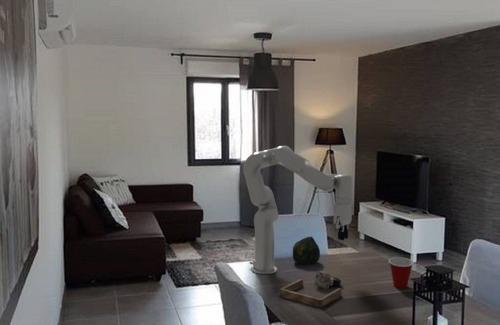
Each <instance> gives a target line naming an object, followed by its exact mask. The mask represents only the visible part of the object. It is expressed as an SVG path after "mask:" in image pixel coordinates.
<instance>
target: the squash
mask: <svg viewBox="0 0 500 325" xmlns="http://www.w3.org/2000/svg"><path fill="white" fill-rule="evenodd" d="M320 251H321V250H320V247H319V245H318V244H317V242H316V240H315V239H314V237H313V236H307V237H304V238H302V239H300V240H298V241H297V242H295V243H294V245H293V247H292V259H293V261H294V262H295V264H299V265H305V264H315V263H316V264H317V263H318V262H319V260H320V257H321V252H320Z"/></svg>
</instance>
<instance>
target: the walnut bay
mask: <svg viewBox="0 0 500 325" xmlns="http://www.w3.org/2000/svg"><path fill="white" fill-rule="evenodd" d="M301 287H304V279H303V278H300V279H297V280H295V281H294V282H291V283H289V284H287V285H284V286H283V287H281V288H279V289H278V296H279V297H282V298H285V299H289V300H293V301H296V302H300V303H303V304H306V305H310V306H313V307H318V308H322V307H324V306H326V305H328V304H329V303H331V302H333V301H335V300H336V299H338V298H339V297H341V296H342V288H340V287H339V288H336V289H335V290H332V291H331V292H329V293H327V294H326V295H324V296H323V297H321V298H319V297H318V298H317V297H315V296H311V295H307V294H303V293H299V292H295V291H296V290H298V289H299V288H301Z"/></svg>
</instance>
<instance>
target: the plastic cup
mask: <svg viewBox="0 0 500 325" xmlns="http://www.w3.org/2000/svg"><path fill="white" fill-rule="evenodd" d="M414 263H415V262H414V261H413V260H412V259H410V258H406V257H402V256H401V257H396V256H395V257H392V258H389V259H388V264H389V265H390V269H391V270H390V271H391V278H392V283H393V287H394V288H396V289H397V288H398V289H406V288H408V284H409V281H410V275H411V271H412V267H413V265H414Z"/></svg>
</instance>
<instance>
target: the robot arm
mask: <svg viewBox="0 0 500 325" xmlns="http://www.w3.org/2000/svg"><path fill="white" fill-rule="evenodd" d="M276 165H281V166H282V167H284V168H286V169H288V170H289V171H291V172H293V173H295V174H296V175H297V176H299V178H301V179H303V180H304V181H306V182H307V183H309V184H310V185H312V186H313V187H316V188H317V189H318V190H320V191H323V192H329V191H331V190H332V189H335V202H334V203H335V205H334V211H333V225H335V228H336V229H337V239H338V240H339V241H345V239H346V240H347V239H348V238H349V226H350V224H351V222H352V220H353V218H352V217H353V216H352V214H353V212H352V204H353V202H352V200H353V197H352V196H353V177H352V176H351V175H350V174H335V173H324V172H322V171H320V170H319V169H317V168H316V167H315V166H313V165H312V164H311V163H310V161H309V160H308V159H307V158H305V157H303V156H301V155H299V154H298V153H297V152H296V151H295V152H294V151H293V149H292V148H291V147H289V146H288V145H279V146H277V147H274V148H271V149H270V148H269V149H266V150H261V151H255V152H253V153H251V154H250V155H249V156H248V157H247V158H246V159H245V161H244V164H243V175H244V179H245V181H246V186H247V191H248V195H249V198H250V202H251V204H253V205H254V206H256V207H258V210H257V211H256V212H255V214H254V216H253V217H254V218H253V225H254V257H255V258H254V259H253V258H252V259H250V261H249V264H250V265H253V266H252V268H251V271H252V272H253V273H255V274H259V275H270V274H274V273H277V272H278V267H277V266H275V229H274V224H275V222H277V220H278V217H279V211H278V206H277V203H276V200H275V196H274V192H273V191H272V189H271V188H270V187H269V186H267V185H266V184H265V181H264V178H263V175H262V173H261V170H262V169H264V168H267V167H271V166H272V167H273V166H276Z"/></svg>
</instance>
